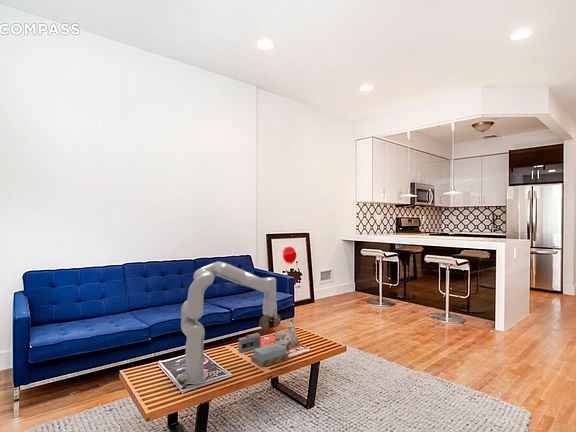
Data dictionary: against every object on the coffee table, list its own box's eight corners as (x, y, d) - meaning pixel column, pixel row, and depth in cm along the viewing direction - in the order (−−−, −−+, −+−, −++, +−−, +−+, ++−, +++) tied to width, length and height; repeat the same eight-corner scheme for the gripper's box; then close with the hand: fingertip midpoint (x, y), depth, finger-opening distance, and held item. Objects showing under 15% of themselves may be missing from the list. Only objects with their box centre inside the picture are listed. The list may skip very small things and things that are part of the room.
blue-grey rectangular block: (262, 361, 204) (262, 354, 204) (253, 355, 212) (253, 349, 212) (286, 354, 215) (286, 347, 215) (277, 349, 223) (277, 343, 223)
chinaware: (273, 340, 253) (270, 318, 253) (295, 336, 256) (292, 314, 256) (278, 355, 226) (276, 330, 225) (303, 351, 228) (300, 326, 228)
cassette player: (240, 353, 224) (240, 338, 225) (238, 352, 227) (238, 337, 227) (260, 348, 234) (260, 333, 234) (258, 346, 236) (258, 332, 236)
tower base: (261, 368, 203) (261, 361, 203) (251, 361, 213) (251, 355, 213) (288, 360, 215) (288, 353, 215) (277, 354, 225) (277, 348, 225)
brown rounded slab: (261, 330, 208) (261, 317, 208) (258, 329, 211) (258, 315, 211) (281, 326, 217) (281, 313, 217) (278, 324, 220) (278, 311, 220)
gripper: (258, 295, 218) (258, 324, 218) (272, 300, 205) (272, 331, 205) (268, 294, 223) (267, 322, 223) (282, 298, 210) (282, 329, 210)
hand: (270, 326), depth 214 cm, fingers closed on brown rounded slab, 2 cm apart
